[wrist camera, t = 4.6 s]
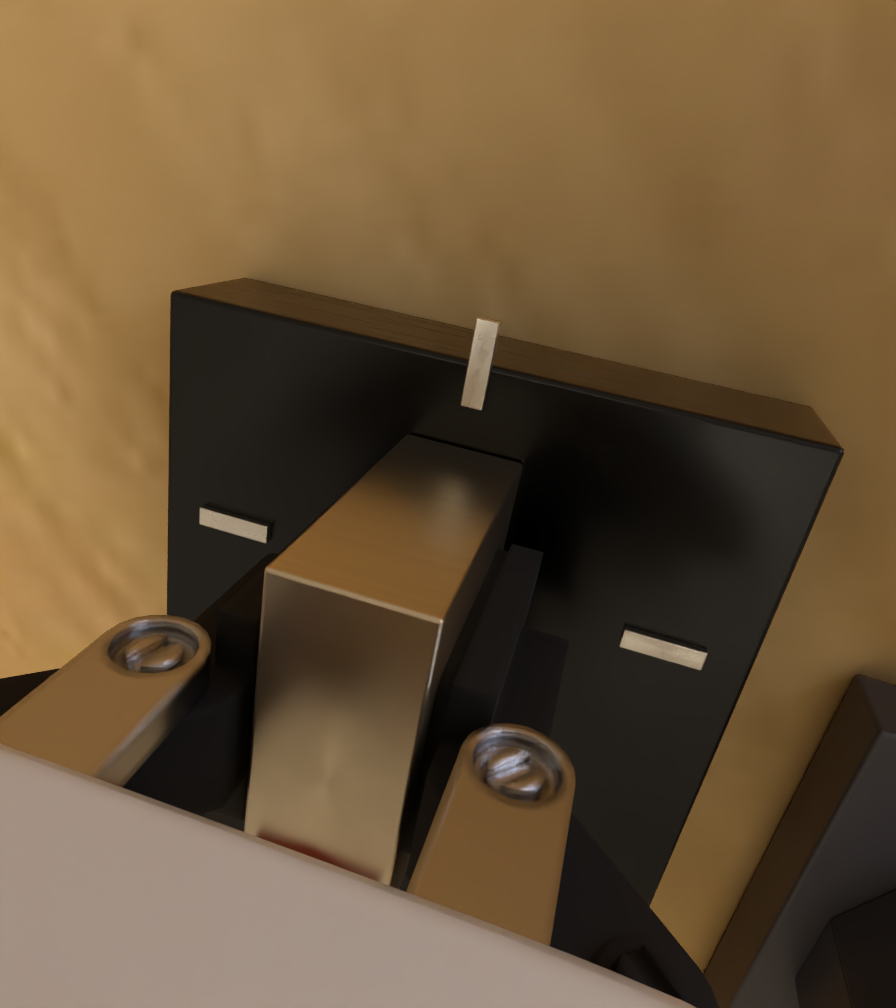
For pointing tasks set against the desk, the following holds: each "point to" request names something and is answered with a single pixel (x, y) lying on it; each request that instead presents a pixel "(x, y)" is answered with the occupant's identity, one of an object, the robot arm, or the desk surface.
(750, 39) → the desk surface
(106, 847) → the robot arm
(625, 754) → the black lever switch base
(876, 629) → the desk surface
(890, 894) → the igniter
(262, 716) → the knob
